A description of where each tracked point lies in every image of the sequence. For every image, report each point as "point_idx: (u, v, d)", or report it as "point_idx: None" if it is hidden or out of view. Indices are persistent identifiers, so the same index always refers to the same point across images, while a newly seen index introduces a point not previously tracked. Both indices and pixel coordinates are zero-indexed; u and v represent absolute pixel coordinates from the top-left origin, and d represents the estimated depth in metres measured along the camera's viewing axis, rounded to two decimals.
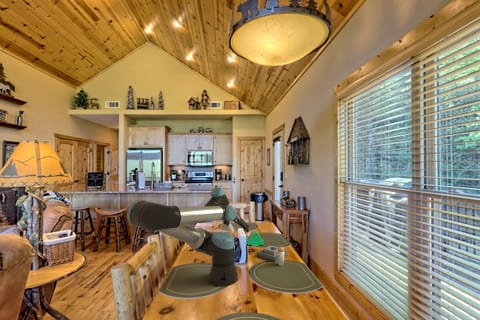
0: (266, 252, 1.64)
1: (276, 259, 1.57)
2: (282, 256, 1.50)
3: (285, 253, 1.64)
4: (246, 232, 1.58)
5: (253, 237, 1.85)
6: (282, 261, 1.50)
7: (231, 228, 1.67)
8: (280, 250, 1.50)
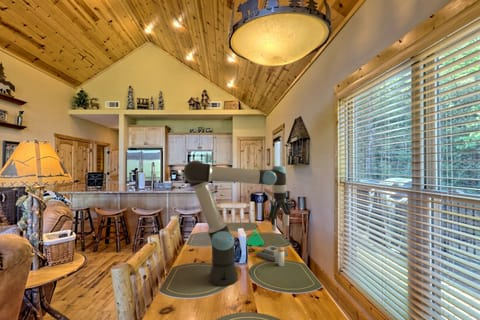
0: (266, 252, 1.64)
1: (276, 259, 1.57)
2: (282, 256, 1.50)
3: (285, 253, 1.64)
4: None
5: (253, 237, 1.85)
6: (282, 261, 1.50)
7: (285, 220, 1.57)
8: (280, 250, 1.50)
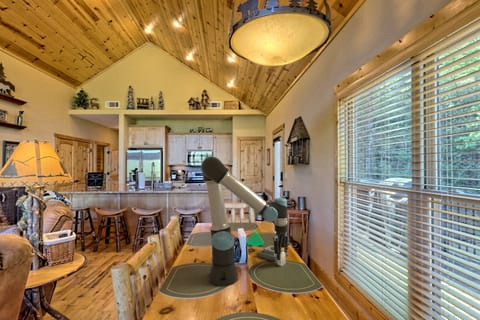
0: (266, 252, 1.64)
1: (276, 259, 1.57)
2: (282, 256, 1.50)
3: (285, 253, 1.64)
4: None
5: (253, 237, 1.84)
6: (282, 261, 1.50)
7: None
8: None
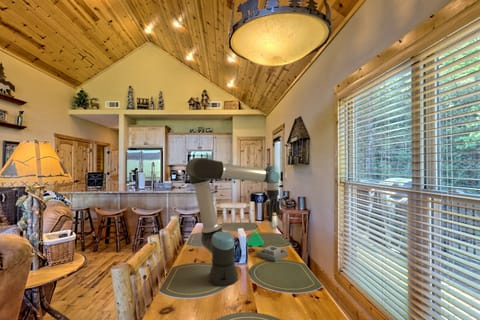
0: (266, 252, 1.64)
1: (276, 259, 1.57)
2: (274, 220, 1.62)
3: (285, 253, 1.64)
4: None
5: (253, 238, 1.84)
6: (274, 225, 1.62)
7: None
8: None
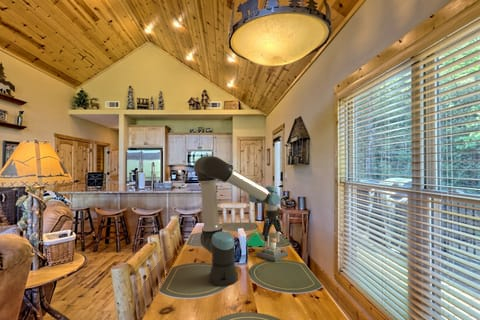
0: (266, 252, 1.64)
1: (276, 259, 1.57)
2: (274, 246, 1.64)
3: (285, 253, 1.64)
4: (265, 240, 1.61)
5: (253, 238, 1.83)
6: None
7: (276, 236, 1.70)
8: (272, 241, 1.63)
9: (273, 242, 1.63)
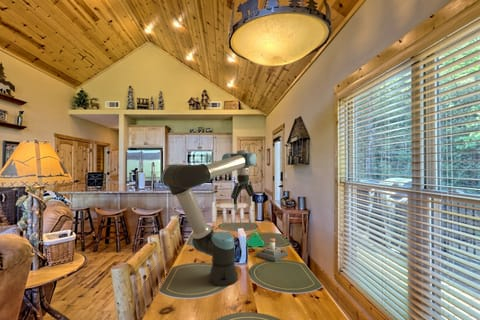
0: (266, 252, 1.64)
1: (276, 259, 1.57)
2: (273, 246, 1.64)
3: (285, 253, 1.64)
4: None
5: (253, 238, 1.82)
6: None
7: (249, 201, 1.69)
8: (271, 241, 1.64)
9: (272, 242, 1.64)
